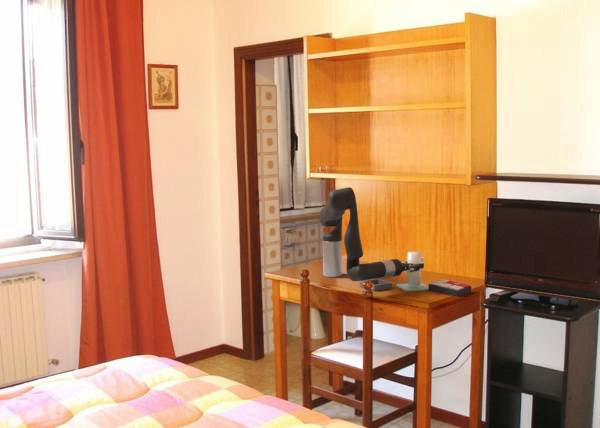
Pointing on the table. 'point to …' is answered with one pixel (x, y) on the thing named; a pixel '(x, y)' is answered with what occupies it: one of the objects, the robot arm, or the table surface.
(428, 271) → the table surface
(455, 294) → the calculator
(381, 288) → the holder
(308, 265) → the table surface
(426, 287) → the coaster pad
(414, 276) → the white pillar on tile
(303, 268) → the table surface
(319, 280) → the table surface
